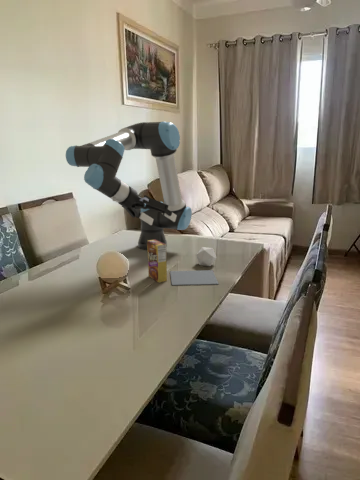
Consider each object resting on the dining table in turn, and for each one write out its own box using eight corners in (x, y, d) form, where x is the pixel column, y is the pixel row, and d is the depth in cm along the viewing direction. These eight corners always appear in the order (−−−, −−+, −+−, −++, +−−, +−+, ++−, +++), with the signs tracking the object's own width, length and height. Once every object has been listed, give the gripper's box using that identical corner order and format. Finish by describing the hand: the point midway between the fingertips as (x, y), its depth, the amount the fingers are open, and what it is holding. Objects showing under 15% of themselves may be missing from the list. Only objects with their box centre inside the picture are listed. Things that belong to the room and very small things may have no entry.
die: (218, 264, 175) (210, 245, 178) (219, 260, 167) (210, 241, 170) (202, 271, 175) (194, 252, 178) (201, 267, 167) (193, 247, 169)
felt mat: (170, 271, 163) (170, 271, 163) (212, 271, 165) (212, 270, 164) (171, 285, 148) (171, 284, 148) (218, 284, 149) (218, 283, 149)
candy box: (147, 276, 158) (146, 240, 154) (156, 274, 160) (156, 238, 156) (157, 283, 151) (157, 245, 147) (167, 281, 153) (167, 243, 149)
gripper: (100, 207, 149) (140, 231, 162) (142, 198, 131) (183, 225, 144) (106, 190, 151) (145, 215, 164) (148, 179, 134) (188, 208, 147)
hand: (163, 220), depth 154 cm, fingers open, 13 cm apart
